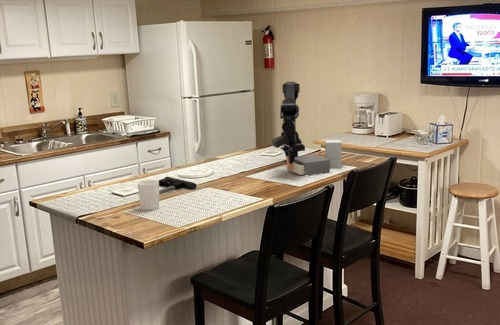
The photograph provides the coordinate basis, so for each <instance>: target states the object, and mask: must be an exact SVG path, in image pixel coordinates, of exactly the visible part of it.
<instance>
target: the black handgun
mask: <svg viewBox="0 0 500 325" xmlns="http://www.w3.org/2000/svg"><path fill="white" fill-rule="evenodd" d="M157 181H159V187H162V189H159V195H162V194H166V193H170V192H173V191H179V190H182V189H189V190H196V189H197V183H195V182H192V181H188V180H184V179H179V178H174V177H172V176H171V177H170V176H165V177H164V178H161V179H159V180H157Z"/></svg>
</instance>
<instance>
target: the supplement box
mask: <svg viewBox="0 0 500 325" xmlns="http://www.w3.org/2000/svg"><path fill="white" fill-rule="evenodd" d="M324 147H325V158H326V159H329V160H330V169H339V168H342V141H341V140H340V139H325V146H324Z"/></svg>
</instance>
